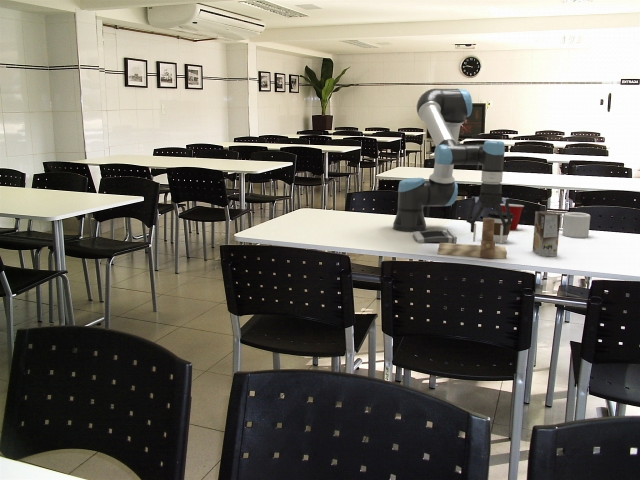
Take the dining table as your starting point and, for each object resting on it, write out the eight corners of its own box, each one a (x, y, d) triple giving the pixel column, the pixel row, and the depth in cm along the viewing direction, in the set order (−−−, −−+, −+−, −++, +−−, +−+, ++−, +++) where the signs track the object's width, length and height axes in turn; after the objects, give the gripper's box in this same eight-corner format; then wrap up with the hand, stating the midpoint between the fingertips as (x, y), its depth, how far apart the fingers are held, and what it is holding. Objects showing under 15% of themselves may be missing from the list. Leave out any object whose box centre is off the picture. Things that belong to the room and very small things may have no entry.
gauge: (480, 258, 227) (482, 222, 224) (479, 250, 241) (481, 216, 238) (494, 259, 226) (496, 222, 223) (492, 250, 240) (494, 216, 237)
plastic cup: (523, 228, 290) (526, 203, 288) (520, 232, 281) (522, 206, 278) (500, 226, 295) (502, 201, 293) (496, 229, 286) (498, 204, 283)
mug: (588, 235, 277) (590, 213, 275) (587, 239, 267) (590, 216, 265) (556, 232, 282) (558, 210, 280) (554, 236, 273) (556, 214, 271)
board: (438, 254, 233) (438, 247, 233) (439, 248, 243) (439, 242, 243) (506, 258, 228) (506, 251, 228) (504, 252, 238) (505, 246, 237)
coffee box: (557, 256, 233) (561, 214, 230) (541, 256, 233) (545, 214, 229) (547, 251, 242) (550, 210, 239) (531, 251, 242) (534, 210, 238)
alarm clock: (457, 237, 253) (417, 233, 253) (455, 248, 254) (416, 244, 254) (449, 229, 269) (412, 225, 270) (448, 239, 270) (411, 236, 271)
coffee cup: (497, 244, 253) (500, 216, 250) (479, 239, 262) (481, 212, 260) (517, 242, 258) (519, 214, 255) (499, 237, 267) (501, 210, 265)
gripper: (461, 182, 228) (457, 241, 232) (523, 185, 223) (518, 245, 227) (461, 180, 235) (458, 238, 239) (521, 182, 230) (516, 241, 235)
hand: (487, 241), depth 233 cm, fingers open, 9 cm apart
